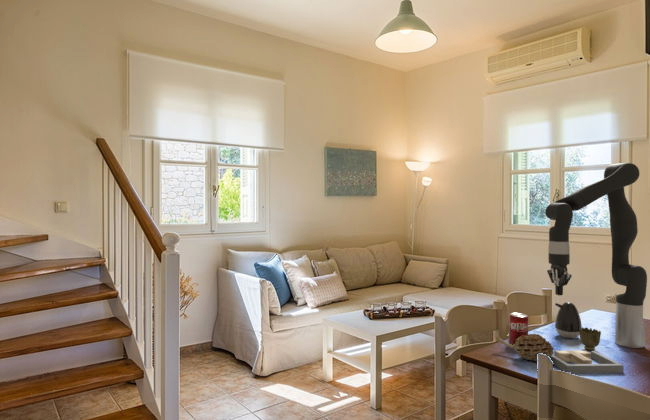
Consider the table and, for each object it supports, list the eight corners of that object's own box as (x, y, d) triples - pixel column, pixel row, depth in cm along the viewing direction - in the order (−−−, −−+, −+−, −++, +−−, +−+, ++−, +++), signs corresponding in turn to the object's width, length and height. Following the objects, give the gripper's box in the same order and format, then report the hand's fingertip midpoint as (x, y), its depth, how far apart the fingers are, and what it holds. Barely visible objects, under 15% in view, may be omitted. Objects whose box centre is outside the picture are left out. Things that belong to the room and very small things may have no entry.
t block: (585, 358, 161) (585, 350, 161) (604, 368, 151) (604, 360, 151) (554, 358, 160) (554, 350, 160) (571, 368, 150) (571, 360, 150)
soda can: (530, 347, 173) (530, 317, 172) (510, 345, 174) (511, 316, 174) (525, 341, 180) (525, 313, 180) (506, 340, 181) (507, 312, 181)
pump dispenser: (551, 332, 194) (552, 298, 194) (577, 334, 191) (578, 300, 191) (557, 339, 184) (558, 303, 184) (584, 341, 181) (585, 305, 181)
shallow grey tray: (594, 357, 162) (594, 351, 162) (623, 372, 147) (623, 365, 147) (543, 357, 161) (543, 351, 160) (567, 373, 146) (567, 365, 146)
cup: (593, 354, 165) (593, 333, 165) (574, 348, 172) (575, 328, 172) (604, 351, 169) (605, 331, 169) (585, 345, 175) (586, 326, 175)
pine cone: (557, 362, 156) (558, 335, 156) (548, 369, 149) (549, 340, 149) (497, 347, 172) (498, 322, 172) (487, 353, 165) (487, 327, 165)
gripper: (578, 254, 167) (578, 298, 167) (557, 250, 180) (557, 291, 181) (560, 254, 167) (560, 298, 167) (540, 250, 180) (540, 291, 180)
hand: (559, 294), depth 174 cm, fingers closed
